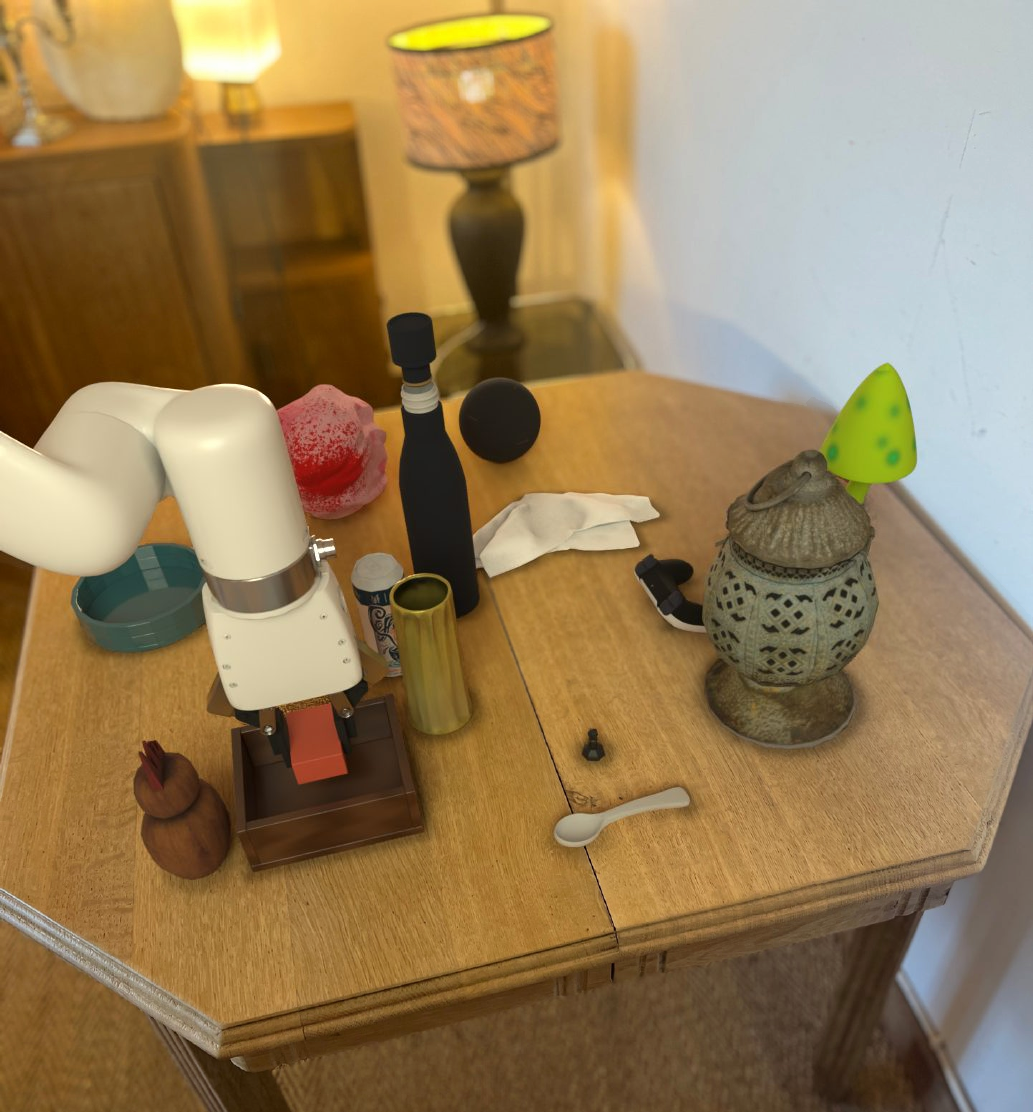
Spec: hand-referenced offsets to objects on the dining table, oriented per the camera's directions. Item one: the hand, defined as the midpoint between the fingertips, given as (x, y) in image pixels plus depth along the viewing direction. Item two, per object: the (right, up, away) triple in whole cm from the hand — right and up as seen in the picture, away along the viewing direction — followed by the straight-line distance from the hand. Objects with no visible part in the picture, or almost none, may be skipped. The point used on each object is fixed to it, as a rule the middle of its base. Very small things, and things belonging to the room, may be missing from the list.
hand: (317, 747), depth 80 cm
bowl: (-23, +13, +26) cm, 37 cm away
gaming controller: (+33, +13, +20) cm, 40 cm away
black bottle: (+9, +14, +23) cm, 29 cm away
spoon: (+25, -6, +1) cm, 26 cm away
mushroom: (+49, +14, +20) cm, 55 cm away
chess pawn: (+23, -1, +7) cm, 24 cm away
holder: (0, -5, +5) cm, 7 cm away
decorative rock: (-5, +27, +38) cm, 46 cm away
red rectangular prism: (0, 0, +1) cm, 1 cm away
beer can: (+4, +7, +17) cm, 19 cm away
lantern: (+40, +4, +11) cm, 41 cm away
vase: (+9, +2, +12) cm, 15 cm away
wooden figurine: (-10, -9, +1) cm, 14 cm away
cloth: (+20, +23, +31) cm, 43 cm away
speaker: (+14, +34, +43) cm, 57 cm away
